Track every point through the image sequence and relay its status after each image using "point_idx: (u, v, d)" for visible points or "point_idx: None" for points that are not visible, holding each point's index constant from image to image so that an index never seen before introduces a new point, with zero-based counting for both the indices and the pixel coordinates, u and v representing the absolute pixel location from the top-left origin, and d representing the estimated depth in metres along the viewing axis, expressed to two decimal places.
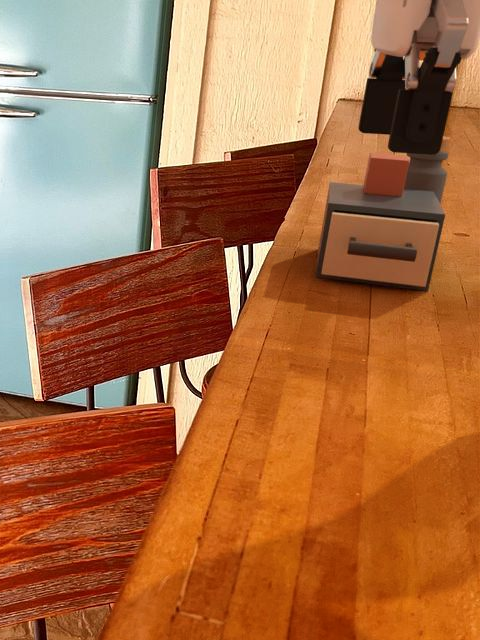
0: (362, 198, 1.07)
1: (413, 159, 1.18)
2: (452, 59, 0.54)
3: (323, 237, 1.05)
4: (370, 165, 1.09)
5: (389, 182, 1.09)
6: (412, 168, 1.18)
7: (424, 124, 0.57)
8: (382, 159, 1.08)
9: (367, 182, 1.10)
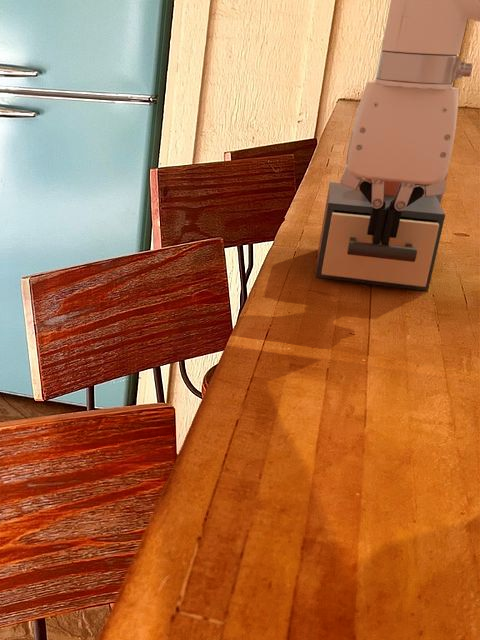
0: (362, 198, 1.07)
1: None
2: None
3: (323, 237, 1.05)
4: None
5: (389, 182, 1.09)
6: None
7: None
8: None
9: None
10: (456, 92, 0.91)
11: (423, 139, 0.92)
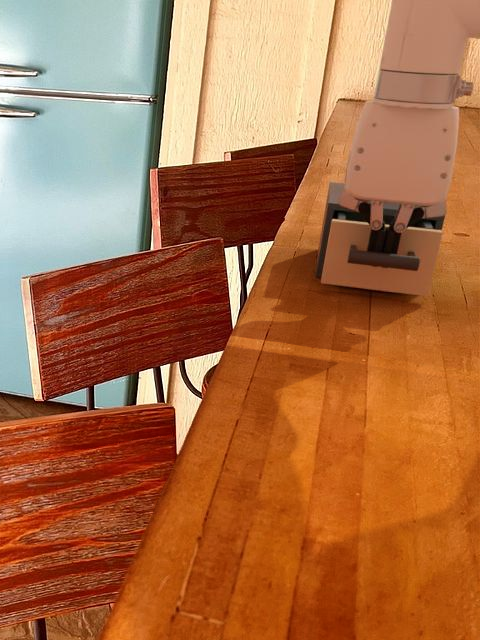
0: None
1: None
2: None
3: (323, 237, 1.05)
4: None
5: None
6: None
7: None
8: None
9: None
10: (456, 112, 0.88)
11: (423, 160, 0.90)
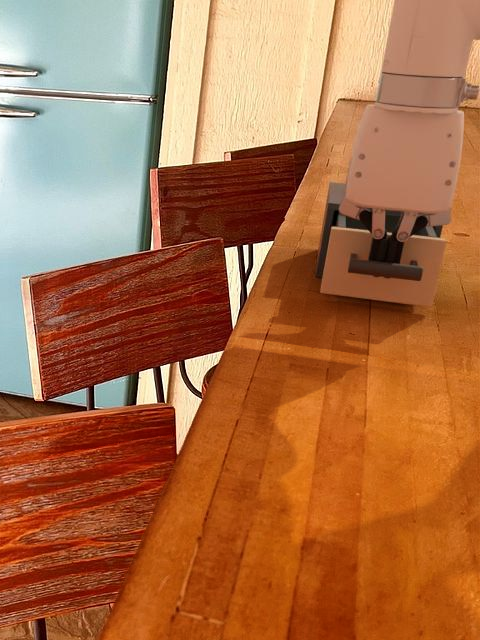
0: None
1: None
2: None
3: (323, 237, 1.05)
4: None
5: None
6: None
7: None
8: None
9: None
10: (462, 116, 0.85)
11: (427, 166, 0.86)
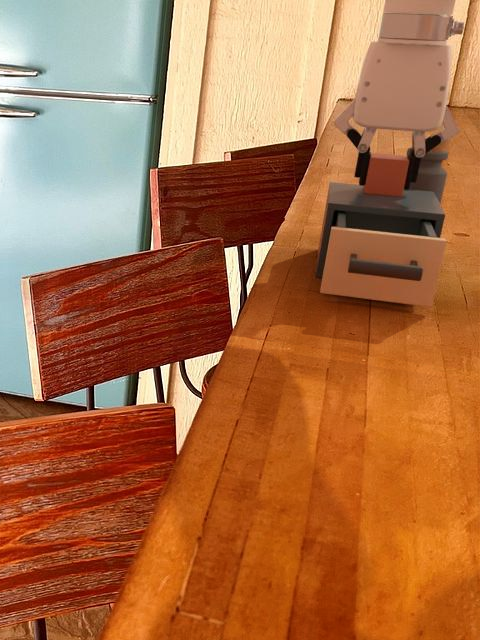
0: (362, 198, 1.07)
1: None
2: None
3: (323, 237, 1.05)
4: (370, 165, 1.09)
5: (389, 182, 1.09)
6: None
7: None
8: (382, 159, 1.08)
9: (367, 182, 1.10)
10: (450, 48, 1.02)
11: (421, 90, 1.04)
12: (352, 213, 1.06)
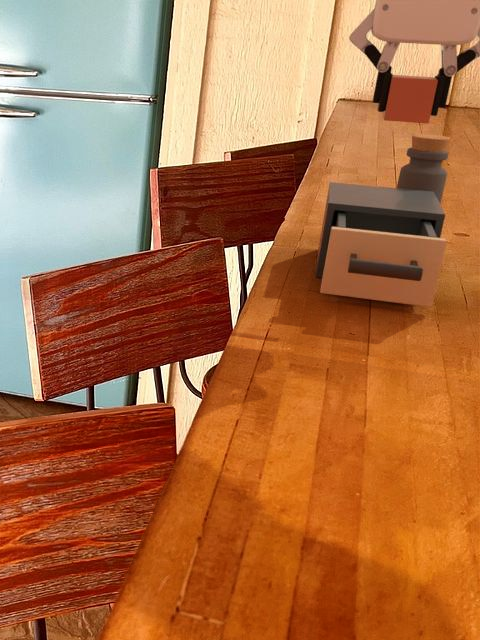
0: (362, 198, 1.07)
1: (413, 159, 1.18)
2: None
3: (323, 237, 1.05)
4: (391, 86, 0.93)
5: (414, 106, 0.93)
6: (412, 168, 1.18)
7: None
8: (406, 79, 0.92)
9: (388, 107, 0.94)
10: None
11: None
12: (352, 213, 1.06)
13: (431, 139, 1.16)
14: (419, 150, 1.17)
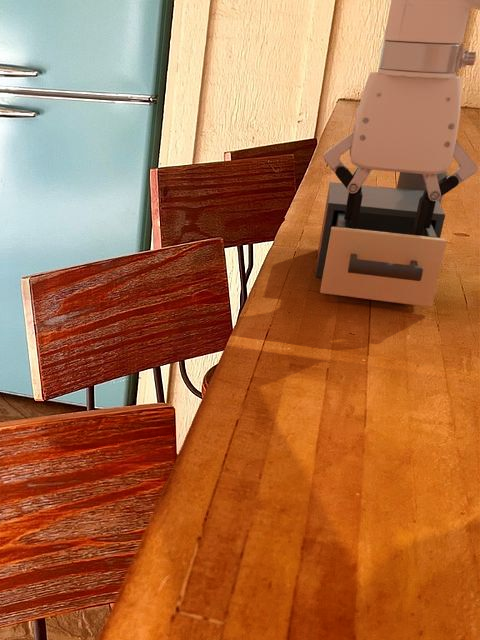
0: (362, 198, 1.07)
1: None
2: None
3: (323, 237, 1.05)
4: None
5: None
6: None
7: None
8: None
9: None
10: (460, 81, 0.90)
11: (427, 129, 0.92)
12: None
13: None
14: None
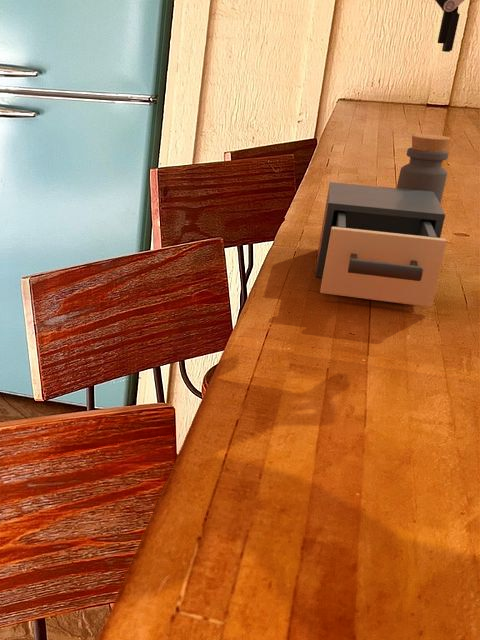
0: (362, 198, 1.07)
1: (413, 159, 1.18)
2: None
3: (323, 237, 1.05)
4: None
5: None
6: (412, 168, 1.18)
7: None
8: None
9: None
10: None
11: None
12: (352, 213, 1.06)
13: (431, 139, 1.16)
14: (419, 150, 1.17)
